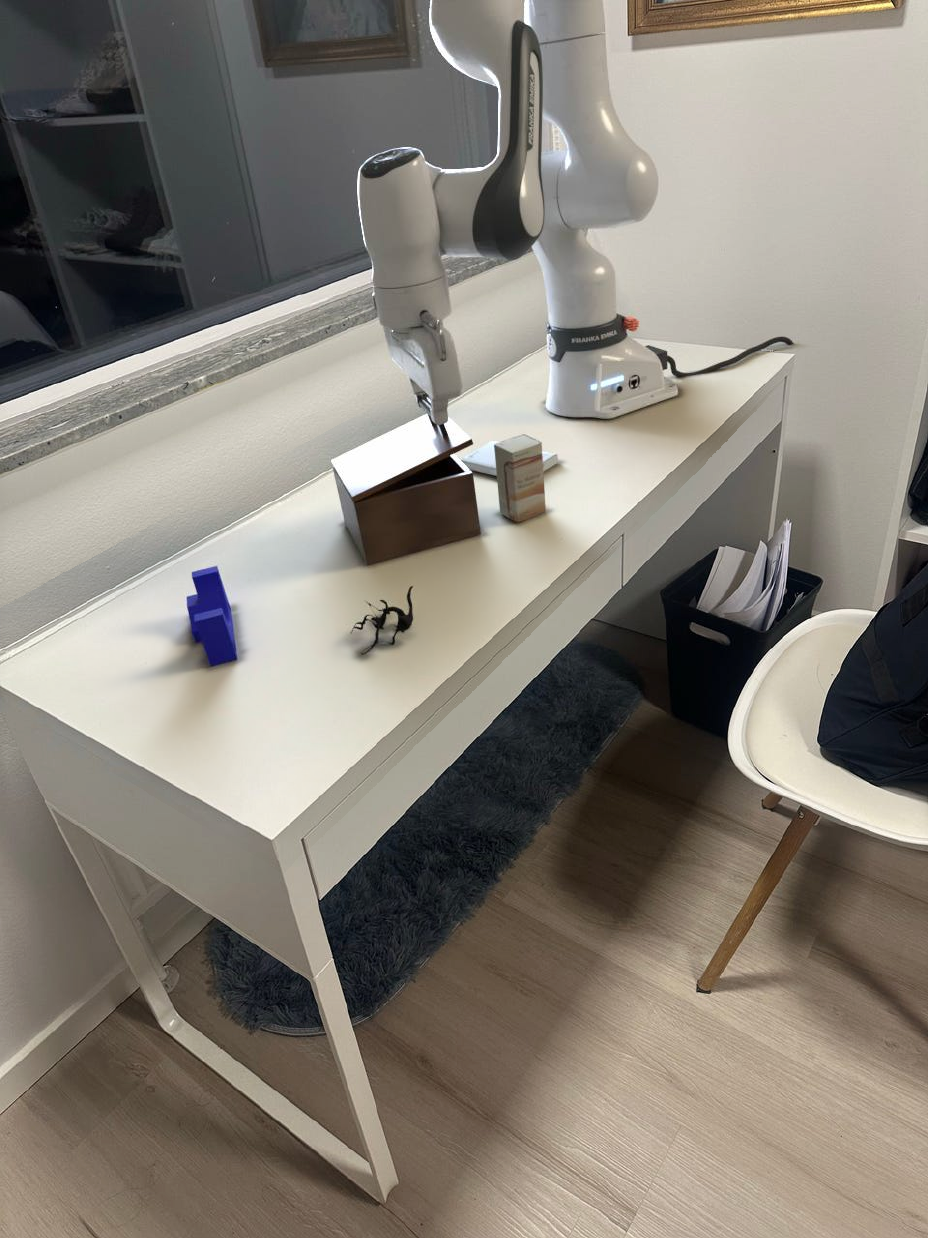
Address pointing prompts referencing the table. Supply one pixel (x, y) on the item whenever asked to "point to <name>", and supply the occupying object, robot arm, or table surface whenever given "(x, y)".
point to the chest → (413, 512)
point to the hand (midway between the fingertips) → (431, 413)
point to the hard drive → (486, 461)
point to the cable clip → (212, 617)
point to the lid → (399, 453)
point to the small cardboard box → (520, 477)
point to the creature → (402, 624)
